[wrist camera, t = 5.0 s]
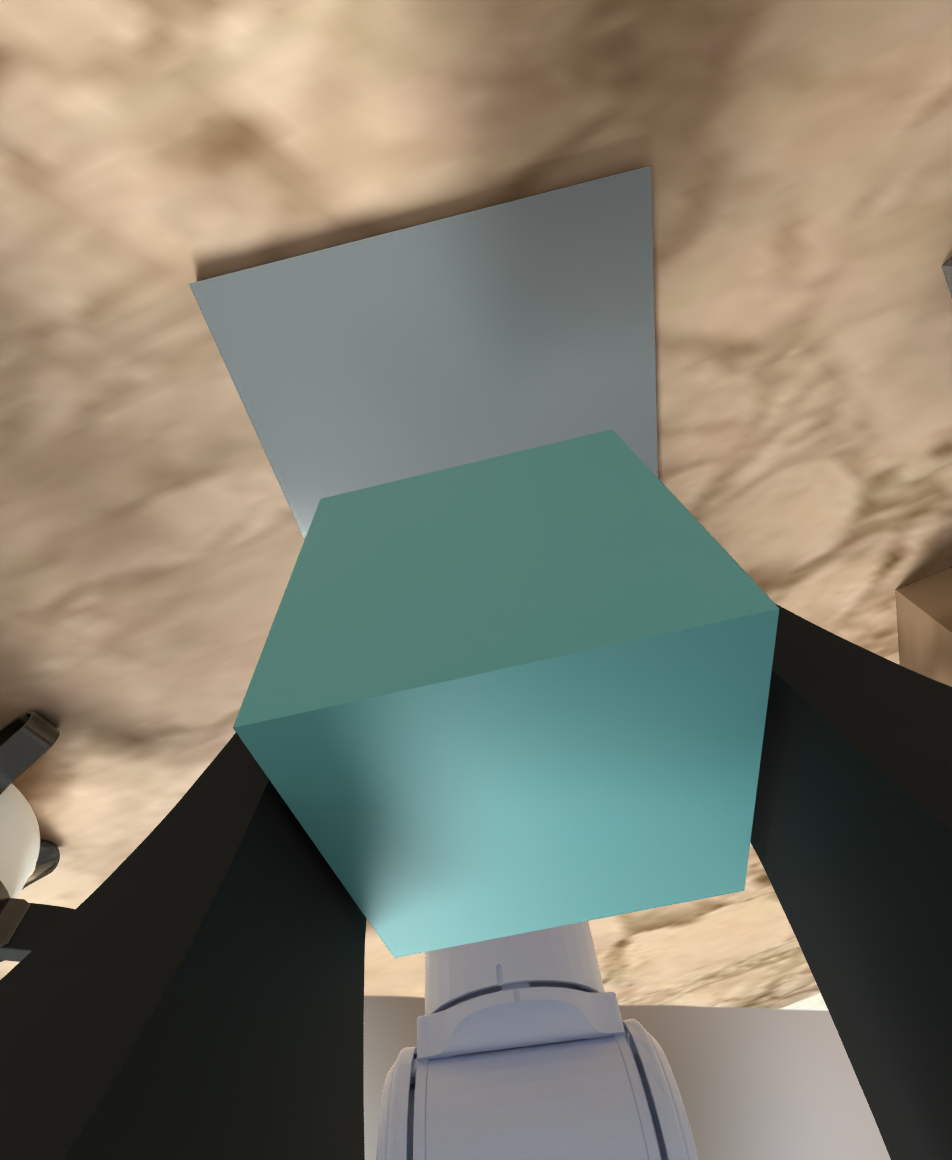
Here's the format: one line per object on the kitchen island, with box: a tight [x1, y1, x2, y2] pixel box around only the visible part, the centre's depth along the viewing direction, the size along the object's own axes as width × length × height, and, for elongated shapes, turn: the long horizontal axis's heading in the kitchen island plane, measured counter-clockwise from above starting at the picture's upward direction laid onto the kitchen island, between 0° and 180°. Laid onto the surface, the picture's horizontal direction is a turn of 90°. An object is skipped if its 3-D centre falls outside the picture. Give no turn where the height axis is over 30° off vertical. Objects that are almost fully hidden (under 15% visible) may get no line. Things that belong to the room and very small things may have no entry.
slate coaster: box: [189, 166, 658, 540], centre depth 17 cm, size 12×12×1 cm
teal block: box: [233, 429, 779, 958], centre depth 8 cm, size 5×5×5 cm
